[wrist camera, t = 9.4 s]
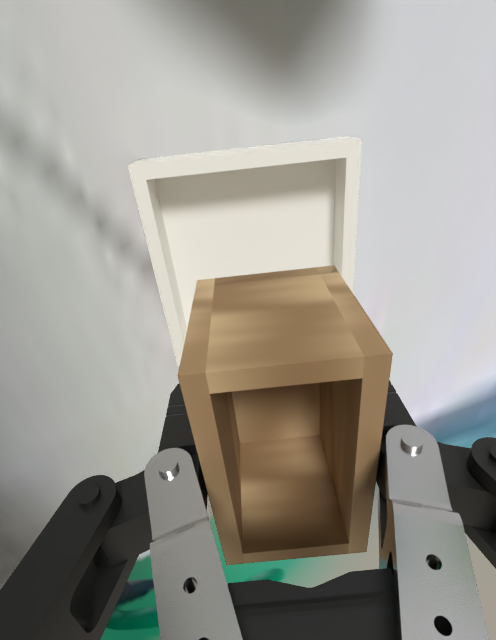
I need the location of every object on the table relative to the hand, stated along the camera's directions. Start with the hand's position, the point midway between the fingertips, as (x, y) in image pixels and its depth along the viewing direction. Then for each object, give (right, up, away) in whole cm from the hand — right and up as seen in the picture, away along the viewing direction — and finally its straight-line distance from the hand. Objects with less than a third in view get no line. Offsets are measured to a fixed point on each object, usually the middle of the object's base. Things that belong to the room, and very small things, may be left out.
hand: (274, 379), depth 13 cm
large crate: (-1, +7, +12) cm, 14 cm away
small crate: (0, 0, +1) cm, 1 cm away
